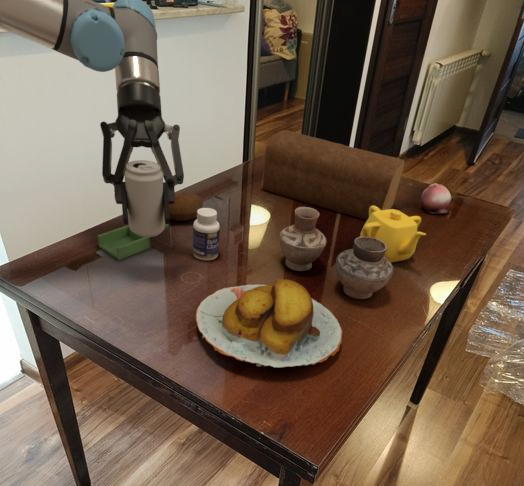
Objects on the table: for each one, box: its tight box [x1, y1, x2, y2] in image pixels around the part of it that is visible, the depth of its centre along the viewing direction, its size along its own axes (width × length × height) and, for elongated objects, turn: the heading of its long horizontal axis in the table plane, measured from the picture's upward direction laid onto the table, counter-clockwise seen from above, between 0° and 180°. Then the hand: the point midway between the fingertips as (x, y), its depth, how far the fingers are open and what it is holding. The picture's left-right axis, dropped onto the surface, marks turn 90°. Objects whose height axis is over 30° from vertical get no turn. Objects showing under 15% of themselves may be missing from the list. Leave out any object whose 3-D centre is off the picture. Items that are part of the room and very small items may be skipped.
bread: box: [261, 129, 405, 221], centre depth 127 cm, size 14×34×14 cm, turn 64°
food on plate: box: [194, 278, 344, 368], centre depth 83 cm, size 25×25×7 cm
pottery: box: [278, 206, 395, 300], centre depth 97 cm, size 11×25×12 cm, turn 54°
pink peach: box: [420, 182, 452, 215], centre depth 131 cm, size 8×8×7 cm
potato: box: [169, 192, 204, 222], centre depth 112 cm, size 7×10×6 cm
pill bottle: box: [192, 207, 221, 262], centre depth 100 cm, size 5×5×10 cm
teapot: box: [359, 206, 427, 263], centre depth 108 cm, size 14×13×10 cm
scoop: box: [96, 220, 170, 261], centre depth 103 cm, size 16×7×3 cm, turn 139°
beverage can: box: [124, 159, 165, 238], centre depth 85 cm, size 6×6×12 cm
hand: (146, 221), depth 84 cm, fingers closed on beverage can, 6 cm apart
